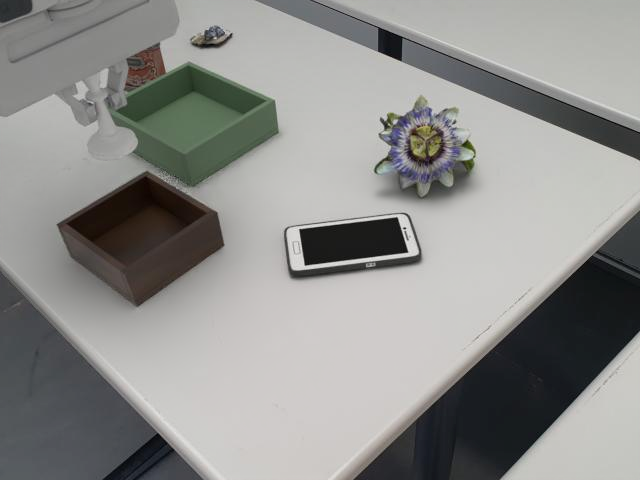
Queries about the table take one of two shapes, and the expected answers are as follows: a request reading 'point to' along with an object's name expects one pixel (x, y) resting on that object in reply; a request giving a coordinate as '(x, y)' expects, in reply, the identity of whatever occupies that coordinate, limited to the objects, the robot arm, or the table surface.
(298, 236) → the cell phone
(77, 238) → the walnut bin
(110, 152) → the chess piece
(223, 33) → the mineral rock specimen
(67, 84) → the robot arm
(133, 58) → the lighter
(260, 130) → the sage bin
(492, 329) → the table surface
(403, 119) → the passion flower
